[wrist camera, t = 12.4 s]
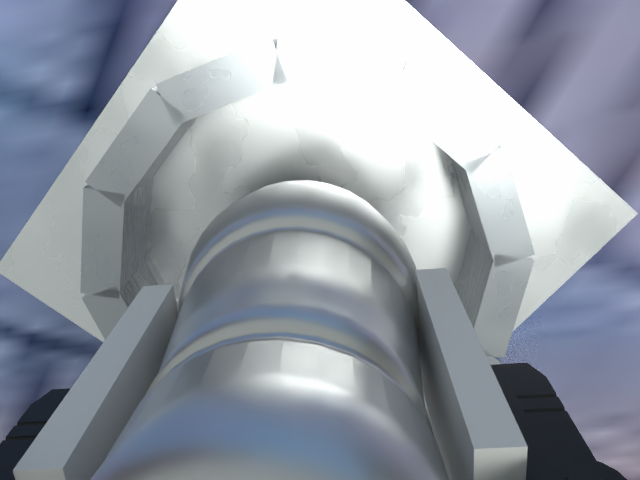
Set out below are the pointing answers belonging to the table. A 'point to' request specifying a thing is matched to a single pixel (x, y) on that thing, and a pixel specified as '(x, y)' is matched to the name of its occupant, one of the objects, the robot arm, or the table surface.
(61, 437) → the robot arm
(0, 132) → the table surface
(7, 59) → the table surface
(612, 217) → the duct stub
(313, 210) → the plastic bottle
